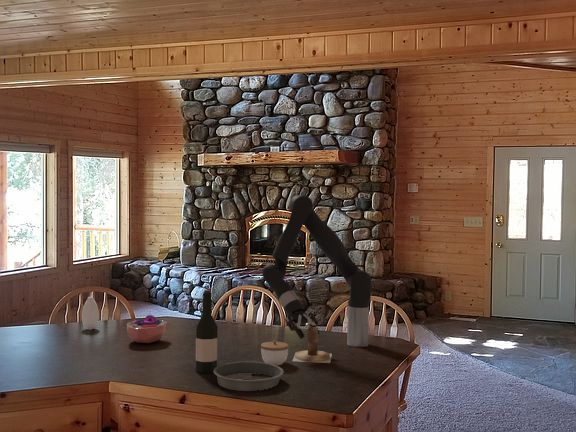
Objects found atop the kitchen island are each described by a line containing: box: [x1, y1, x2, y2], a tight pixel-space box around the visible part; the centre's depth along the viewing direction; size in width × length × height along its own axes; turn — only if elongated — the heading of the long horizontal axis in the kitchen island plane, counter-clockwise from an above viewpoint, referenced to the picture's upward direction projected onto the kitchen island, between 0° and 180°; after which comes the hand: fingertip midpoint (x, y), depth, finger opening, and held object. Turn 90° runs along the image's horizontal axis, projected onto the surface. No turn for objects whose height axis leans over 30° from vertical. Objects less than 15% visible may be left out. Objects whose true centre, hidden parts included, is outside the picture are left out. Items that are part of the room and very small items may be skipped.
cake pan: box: [213, 361, 284, 392], centre depth 235 cm, size 25×25×4 cm
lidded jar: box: [260, 339, 289, 366], centre depth 259 cm, size 11×11×9 cm
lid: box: [294, 326, 331, 363], centre depth 269 cm, size 14×14×12 cm
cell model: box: [126, 314, 168, 344], centre depth 292 cm, size 17×20×11 cm
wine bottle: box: [195, 289, 219, 374], centre depth 248 cm, size 8×8×30 cm
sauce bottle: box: [81, 291, 100, 331], centre depth 316 cm, size 8×8×18 cm
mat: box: [291, 353, 333, 364], centre depth 270 cm, size 15×15×1 cm
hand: (310, 336), depth 270 cm, fingers open, 8 cm apart
